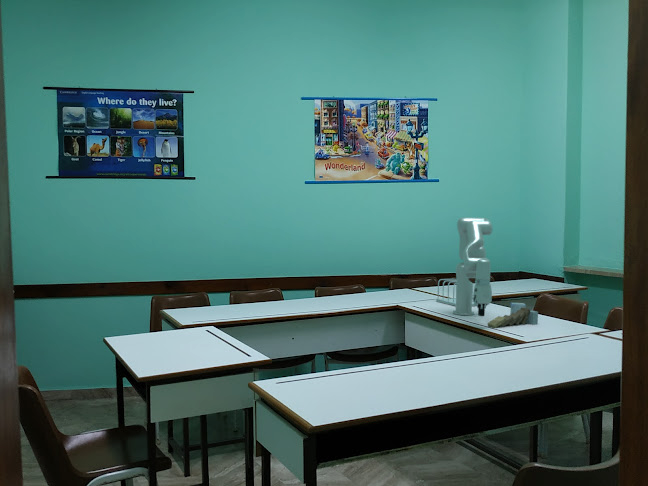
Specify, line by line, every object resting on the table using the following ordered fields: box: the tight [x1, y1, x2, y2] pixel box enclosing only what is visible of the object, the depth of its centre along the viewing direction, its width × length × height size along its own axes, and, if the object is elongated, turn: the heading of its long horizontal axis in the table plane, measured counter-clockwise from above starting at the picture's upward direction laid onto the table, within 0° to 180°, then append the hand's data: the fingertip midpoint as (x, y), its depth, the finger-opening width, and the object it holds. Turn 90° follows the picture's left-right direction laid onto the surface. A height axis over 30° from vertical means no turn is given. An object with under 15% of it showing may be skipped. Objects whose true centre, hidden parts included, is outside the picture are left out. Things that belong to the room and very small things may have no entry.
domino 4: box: [513, 310, 526, 326], centre depth 353 cm, size 2×5×9 cm
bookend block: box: [519, 309, 539, 326], centre depth 358 cm, size 4×10×7 cm, turn 32°
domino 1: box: [487, 315, 506, 329], centre depth 345 cm, size 2×5×9 cm
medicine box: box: [509, 302, 527, 315], centre depth 373 cm, size 8×4×9 cm, turn 84°
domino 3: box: [506, 313, 521, 327], centre depth 350 cm, size 2×5×9 cm
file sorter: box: [435, 278, 476, 307], centre depth 421 cm, size 25×17×16 cm
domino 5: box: [519, 307, 531, 325], centre depth 355 cm, size 2×5×9 cm, turn 32°
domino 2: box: [498, 314, 514, 328], centre depth 348 cm, size 2×5×9 cm
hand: (481, 315), depth 339 cm, fingers closed
